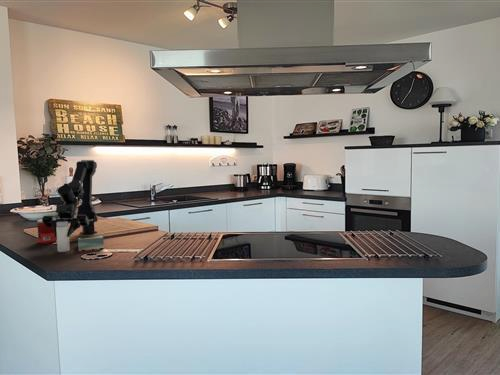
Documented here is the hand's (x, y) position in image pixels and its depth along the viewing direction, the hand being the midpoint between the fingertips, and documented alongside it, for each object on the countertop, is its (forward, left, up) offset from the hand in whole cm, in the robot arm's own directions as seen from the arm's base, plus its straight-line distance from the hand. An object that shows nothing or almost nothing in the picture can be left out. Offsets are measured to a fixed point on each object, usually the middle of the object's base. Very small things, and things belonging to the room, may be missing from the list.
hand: (61, 236), depth 164 cm
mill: (-1, +1, -7) cm, 7 cm away
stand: (+4, +11, -7) cm, 14 cm away
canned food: (-23, +5, -7) cm, 24 cm away
